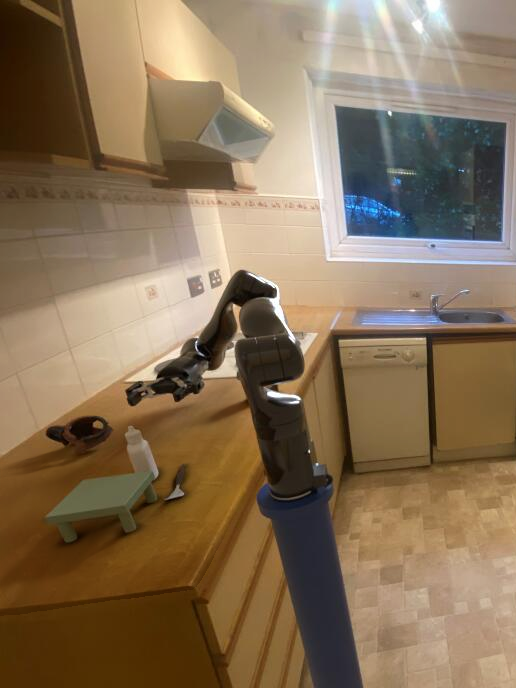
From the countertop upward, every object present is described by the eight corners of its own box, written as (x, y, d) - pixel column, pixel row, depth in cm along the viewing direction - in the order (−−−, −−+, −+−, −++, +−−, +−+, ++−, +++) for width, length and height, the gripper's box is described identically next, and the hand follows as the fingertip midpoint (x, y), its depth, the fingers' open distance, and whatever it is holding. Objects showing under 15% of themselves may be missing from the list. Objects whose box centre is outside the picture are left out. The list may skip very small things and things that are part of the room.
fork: (191, 464, 97) (188, 456, 96) (182, 504, 84) (179, 495, 83) (177, 467, 96) (174, 459, 95) (165, 508, 83) (162, 499, 82)
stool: (162, 495, 86) (152, 470, 84) (135, 533, 76) (124, 505, 74) (94, 505, 83) (83, 479, 81) (58, 545, 74) (44, 517, 71)
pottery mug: (120, 432, 111) (116, 411, 106) (111, 463, 105) (105, 443, 100) (55, 431, 104) (47, 409, 99) (40, 464, 99) (31, 443, 94)
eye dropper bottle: (128, 485, 89) (108, 434, 85) (145, 469, 94) (127, 421, 90) (152, 483, 90) (133, 432, 85) (167, 468, 95) (150, 419, 90)
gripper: (143, 363, 108) (109, 388, 94) (209, 358, 112) (185, 381, 98) (153, 390, 111) (121, 419, 97) (216, 385, 115) (194, 411, 101)
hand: (153, 400), depth 97 cm, fingers open, 8 cm apart
